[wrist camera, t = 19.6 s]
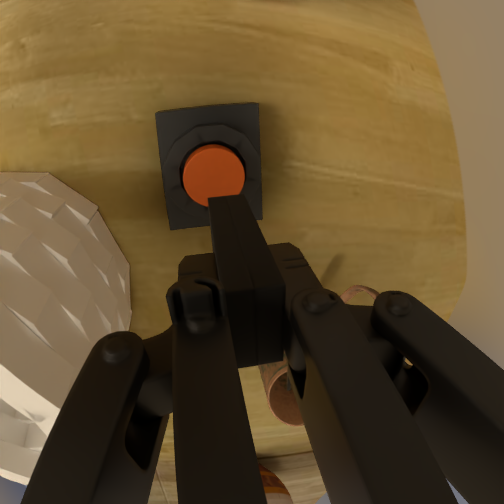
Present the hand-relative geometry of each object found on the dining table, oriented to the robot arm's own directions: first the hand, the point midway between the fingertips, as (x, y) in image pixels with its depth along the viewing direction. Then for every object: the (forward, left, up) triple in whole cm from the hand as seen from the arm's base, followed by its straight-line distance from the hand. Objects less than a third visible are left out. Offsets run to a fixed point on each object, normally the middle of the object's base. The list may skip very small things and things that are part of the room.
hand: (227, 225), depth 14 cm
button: (0, 0, -11) cm, 11 cm away
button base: (0, 0, -15) cm, 15 cm away
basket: (+18, -14, -15) cm, 28 cm away
